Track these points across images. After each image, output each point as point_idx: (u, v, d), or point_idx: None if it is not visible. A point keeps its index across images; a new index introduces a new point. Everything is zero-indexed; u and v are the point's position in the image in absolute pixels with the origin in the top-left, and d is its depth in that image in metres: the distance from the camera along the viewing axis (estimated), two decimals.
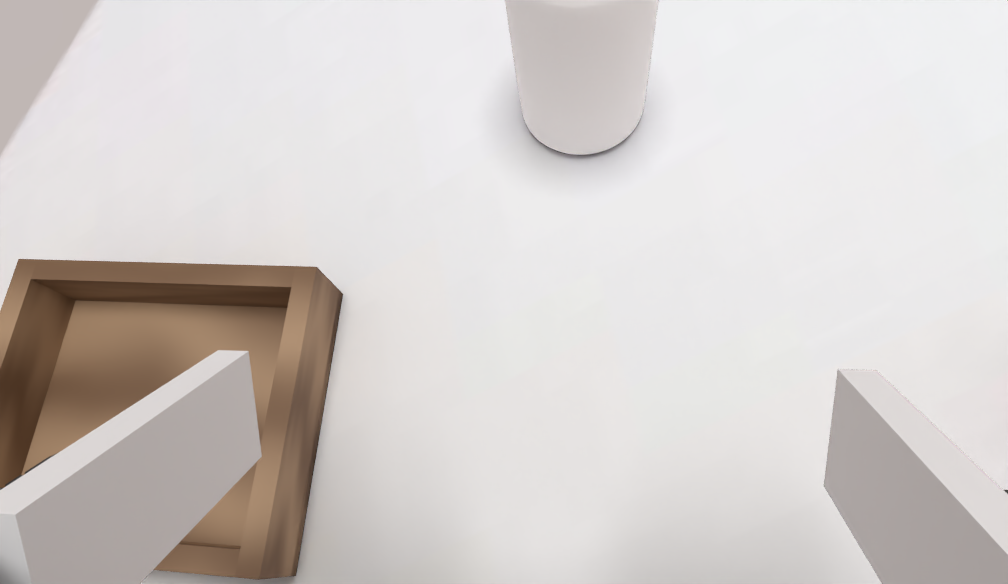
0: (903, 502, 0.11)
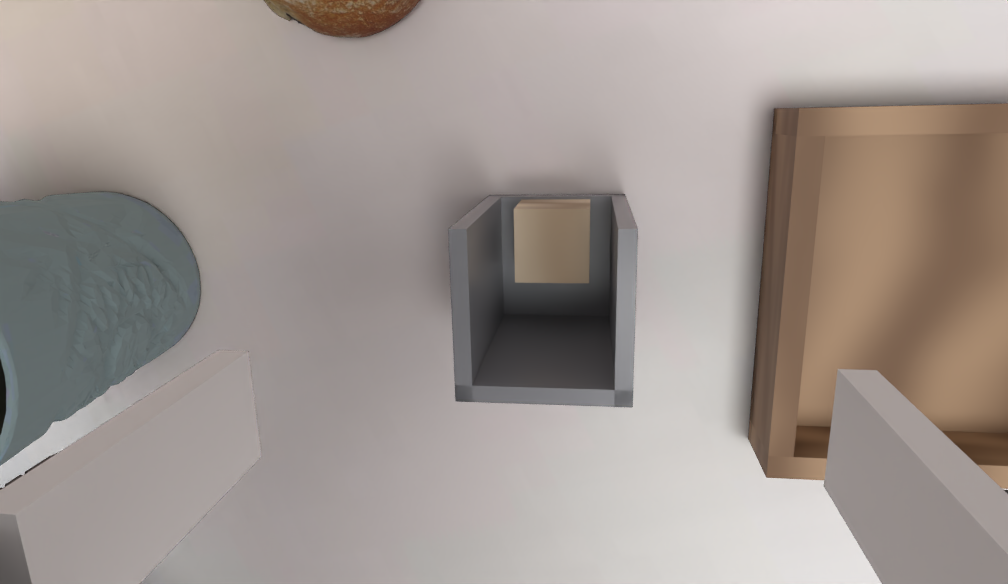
0: (903, 502, 0.11)
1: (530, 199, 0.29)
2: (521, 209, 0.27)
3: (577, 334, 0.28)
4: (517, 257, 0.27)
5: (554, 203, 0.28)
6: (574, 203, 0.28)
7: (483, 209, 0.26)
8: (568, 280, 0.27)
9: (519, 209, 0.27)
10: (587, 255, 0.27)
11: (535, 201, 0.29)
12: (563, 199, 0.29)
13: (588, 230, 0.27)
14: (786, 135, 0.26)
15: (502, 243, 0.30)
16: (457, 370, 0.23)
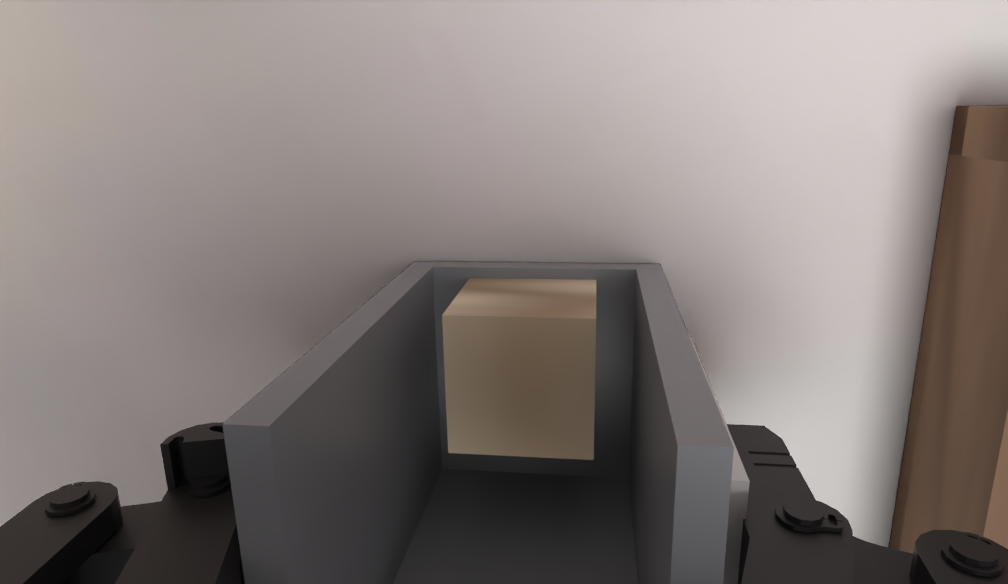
0: None
1: (486, 278, 0.16)
2: (457, 315, 0.13)
3: (570, 541, 0.15)
4: (451, 407, 0.14)
5: (527, 294, 0.15)
6: (565, 295, 0.14)
7: (373, 316, 0.12)
8: (552, 453, 0.14)
9: (453, 315, 0.13)
10: (590, 408, 0.13)
11: (493, 285, 0.15)
12: (546, 279, 0.16)
13: (592, 360, 0.13)
14: (1006, 162, 0.12)
15: (436, 349, 0.17)
16: None
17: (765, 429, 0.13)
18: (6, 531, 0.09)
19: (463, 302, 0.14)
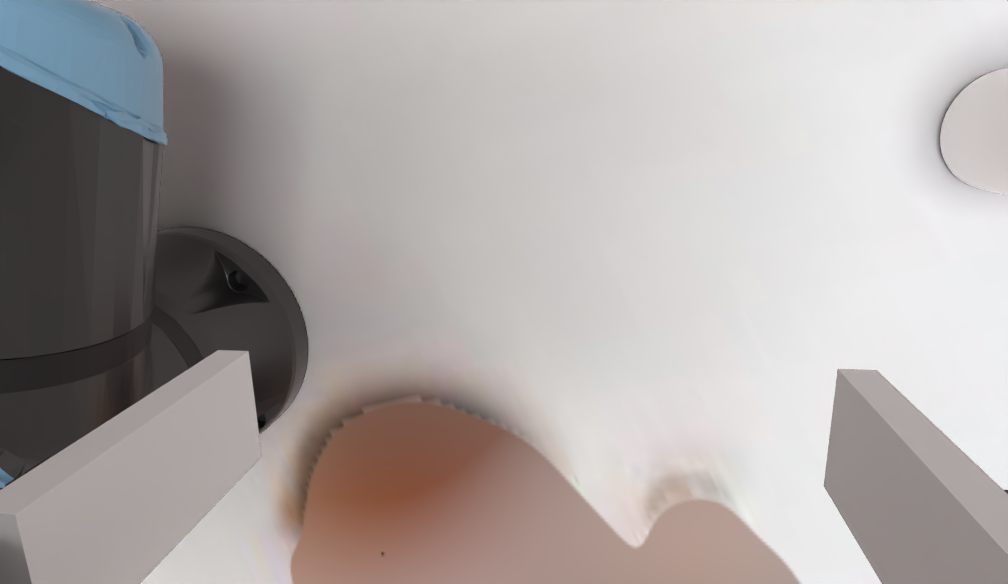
0: (903, 502, 0.11)
1: None
2: None
3: None
4: None
5: None
6: None
7: None
8: None
9: None
10: None
11: None
12: None
13: None
14: None
15: None
16: None
17: None
18: None
19: None
